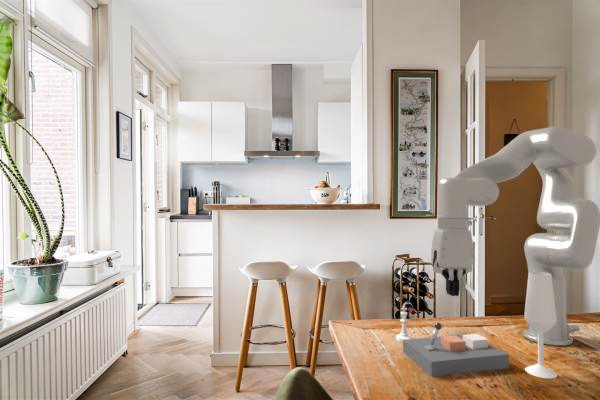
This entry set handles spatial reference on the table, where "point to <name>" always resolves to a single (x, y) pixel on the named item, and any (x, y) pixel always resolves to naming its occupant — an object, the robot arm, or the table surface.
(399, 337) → the chess piece
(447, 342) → the button terracotta
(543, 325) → the champagne flute
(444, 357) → the panel
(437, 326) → the toggle lever
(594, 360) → the table surface
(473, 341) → the button white
